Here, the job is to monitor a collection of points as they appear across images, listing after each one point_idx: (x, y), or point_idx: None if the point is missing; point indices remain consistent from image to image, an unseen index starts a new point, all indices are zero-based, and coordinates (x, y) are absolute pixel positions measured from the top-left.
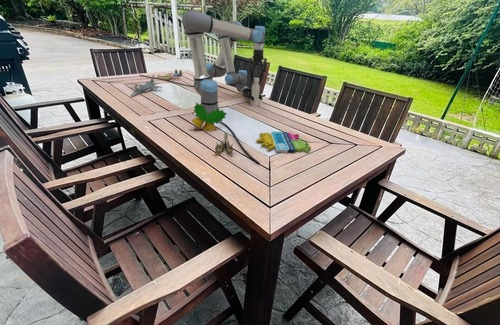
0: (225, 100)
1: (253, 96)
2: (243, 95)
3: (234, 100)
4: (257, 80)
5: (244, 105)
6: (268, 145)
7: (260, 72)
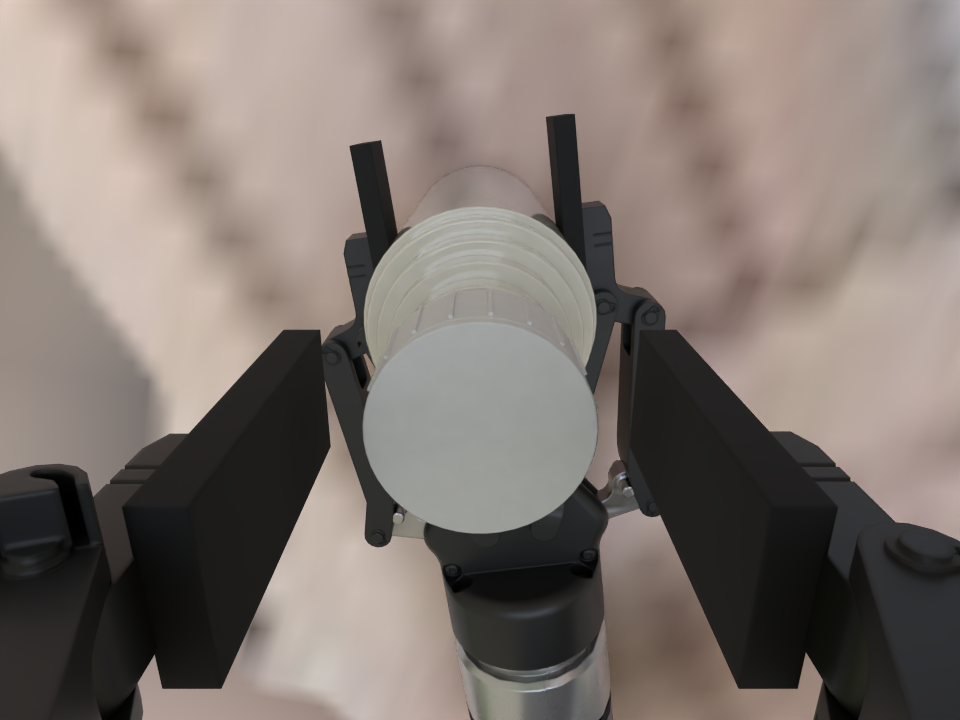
0: None
1: (541, 206)
2: None
3: None
4: (469, 305)
5: (658, 228)
6: None
7: (224, 668)
